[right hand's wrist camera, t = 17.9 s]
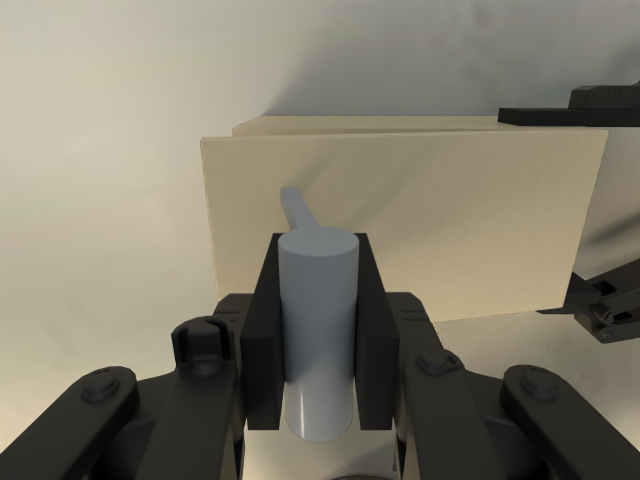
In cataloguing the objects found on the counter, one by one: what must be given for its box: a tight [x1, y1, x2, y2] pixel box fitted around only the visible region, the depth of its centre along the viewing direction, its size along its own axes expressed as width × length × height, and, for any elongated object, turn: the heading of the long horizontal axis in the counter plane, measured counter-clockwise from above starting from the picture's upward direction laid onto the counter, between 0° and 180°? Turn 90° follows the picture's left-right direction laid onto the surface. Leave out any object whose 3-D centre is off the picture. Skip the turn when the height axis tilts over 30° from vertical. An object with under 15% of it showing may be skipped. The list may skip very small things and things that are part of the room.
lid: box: [200, 128, 609, 443], centre depth 15 cm, size 18×9×8 cm, turn 90°
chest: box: [232, 116, 592, 137], centre depth 24 cm, size 17×9×9 cm, turn 90°
